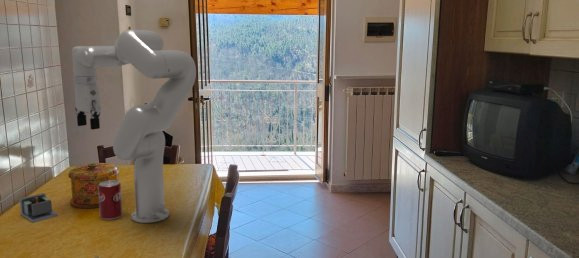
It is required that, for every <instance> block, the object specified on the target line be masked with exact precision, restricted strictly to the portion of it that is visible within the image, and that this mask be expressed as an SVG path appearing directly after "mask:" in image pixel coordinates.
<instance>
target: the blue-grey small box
mask: <svg viewBox="0 0 579 258" xmlns="http://www.w3.org/2000/svg"><path fill="white" fill-rule="evenodd" d="M31 205H32V216H38V215H41V214H45V213H49V212H52V211H53V204H52V200H51V199H49V200H48V201H44V202H40V203H38V197H35V204H31Z"/></svg>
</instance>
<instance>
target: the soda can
mask: <svg viewBox="0 0 579 258" xmlns="http://www.w3.org/2000/svg"><path fill="white" fill-rule="evenodd" d="M97 191H98V208H99V217H100V219H102V220H105V221H112V220H117V219H118V218H121V217H122V215H123V205H122V203H123V201H122V184H121V182H120V181H118V180H105V181H101V182H99V184H98V185H97Z"/></svg>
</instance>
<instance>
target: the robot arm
mask: <svg viewBox="0 0 579 258" xmlns="http://www.w3.org/2000/svg"><path fill="white" fill-rule="evenodd" d="M163 48H164V40H163V38H162V36H161V35H160V34H159V33H157V31H153V30H149V29H148V30H147V29H125V30H124V31H122V32H121V33H120V34H119V35H118V38H117V39H116V40H115V42H114V45H88V46H87V45H86V46H85V45H84V46H83V45H77V46H74V47H73V48H72V49H71V53H72V54H71V55H72V69H73V80H74V81H73V83H74V87H75V89H74V90H75V91H74V92H75V93H74V97H75V101H74V108H75V111H76V112H75V114H76V119H77V120H76V123H77V126H78V127H83V126H87V123H88V122H87V114H86V113H88V114H89V117H90V118H89V123H90V130H99V129H100V128H101V127H100V126H101V123H100V118H101V116H100V115H101V110H102V108H101V100H100V99H101V97H100V92H99V87H98V80H97V78H98V77H97V69H98V68H117V67H122V66H126V65H129V64H131V66H133V67H134V68H135V69H136V70H137V71H138V72H139V73H140V74H141V75H142V76H145V77H146V78H148V79H150V80H151V79H153V80H159V79H167V81H165V82H164V83H163V84H162V85H161V86H160V88H159V89H158V91H156V95H155V97H154V98H153V100H151V102H149V103H145V104H143V103H142V104H139V105H134V106H133V107H131V108H129V109H128V110H127V112H126V113H125V114H124V116H123V118H122V120H121V123H120V124H119V126H118V129H117V131H116V132H115V135H114V138H113V142H112V150H113V153H114V155H115V156H116V158H118V159H119V160H122V161H131V160H135V161H134V166H133V179H134V182H133V183H134V200H135V210H134V211H133V212H132V213H131V214H130V215H131V216H130V217H131V220H132V221H134V222H136V223H141V224H148V223H156V222H162V221H164V220H166V219H167V218H168V217H169V216H170V211H169V210H168V209H167V208H166V204H165V190H164V155H165V147H166V137H165V134H164V132H163V131H166V130H168V129H170V127H171V125H172V124H173V123H174V121H175V118H176V116H177V115H178V113H179V111H180V109H181V107H182V106H183V103H184V101H185V100H186V98H187V97H188V96H189V94H190V92H191V90H192V89H193V87H194V85H195V81H196V79H197V68H196V63H195V61H194V59H193V57H192V56H191V54H189V53H187V52H185V51H182V50H176V49H168V50H167V49H166V50H164V49H163Z"/></svg>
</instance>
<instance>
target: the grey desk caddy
mask: <svg viewBox="0 0 579 258" xmlns="http://www.w3.org/2000/svg"><path fill="white" fill-rule="evenodd" d="M35 197H38V203H40V202H44V201H48V200H50V198H49V197H48V196H47V194H46V193H39V194H38V193H36V194H33V195H29V196H25V197H20V198H18V200H19V210H20V216H21V217H23V218H25V219H26V220H28V221H29V222H31V223H36V222H40V221H43V220H44V221H45V220H47V219H51V218H54V217H58V212H56V211H54V210H52V212H49V213H45V214H41V215H38V216H32V205H31V204H35Z"/></svg>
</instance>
